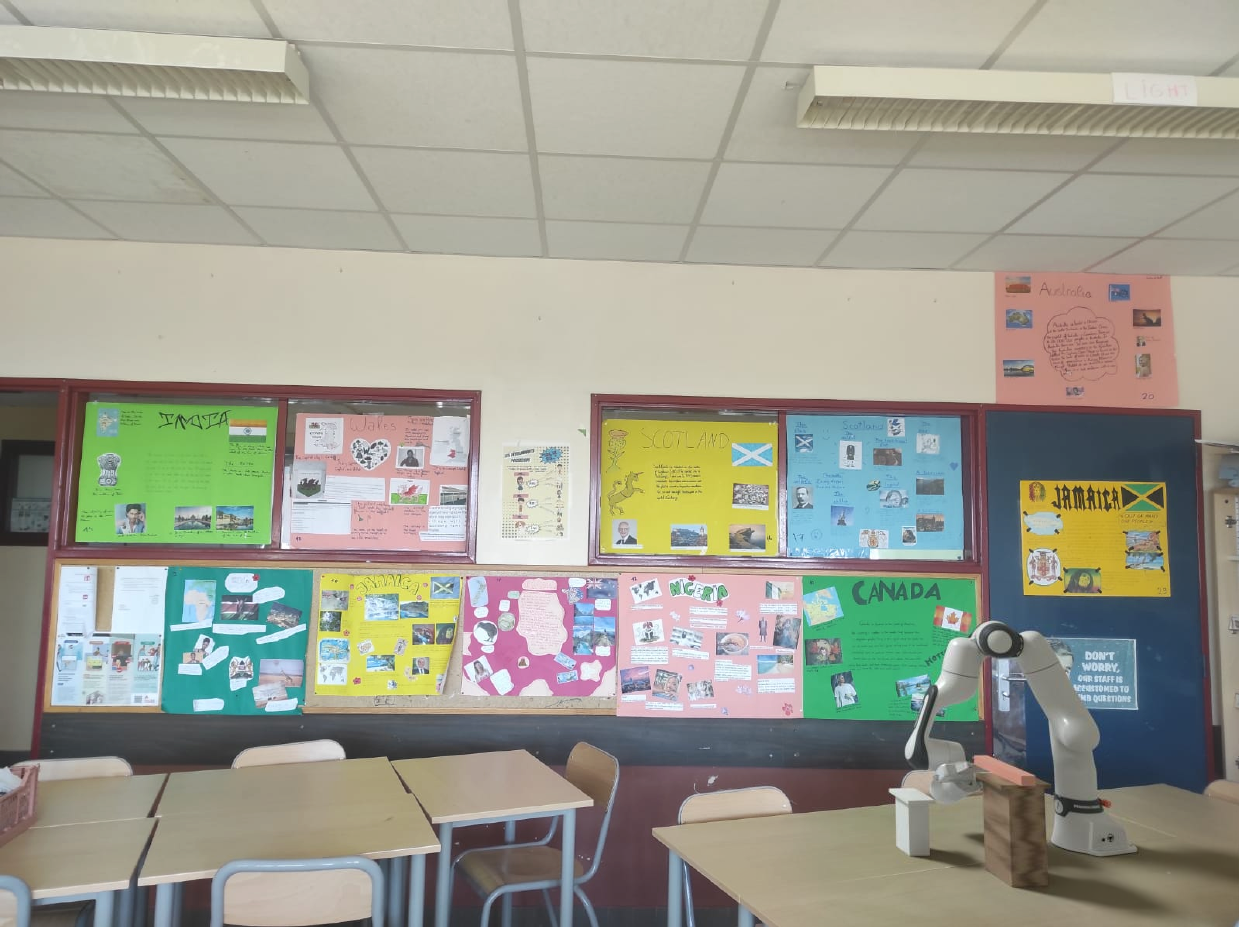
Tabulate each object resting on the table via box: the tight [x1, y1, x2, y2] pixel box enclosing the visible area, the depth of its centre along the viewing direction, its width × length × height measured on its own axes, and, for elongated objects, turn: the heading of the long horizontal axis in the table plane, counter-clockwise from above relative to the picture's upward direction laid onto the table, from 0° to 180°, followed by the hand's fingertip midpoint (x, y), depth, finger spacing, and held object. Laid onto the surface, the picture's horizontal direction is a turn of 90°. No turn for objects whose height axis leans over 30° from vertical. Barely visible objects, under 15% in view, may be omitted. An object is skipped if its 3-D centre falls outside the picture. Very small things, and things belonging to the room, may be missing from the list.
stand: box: [888, 787, 936, 857], centre depth 235 cm, size 8×12×16 cm, turn 7°
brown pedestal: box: [974, 772, 1052, 888], centre depth 217 cm, size 14×13×25 cm
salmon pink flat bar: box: [973, 754, 1037, 786], centre depth 222 cm, size 4×22×2 cm, turn 7°
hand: (984, 764), depth 231 cm, fingers open, 8 cm apart
